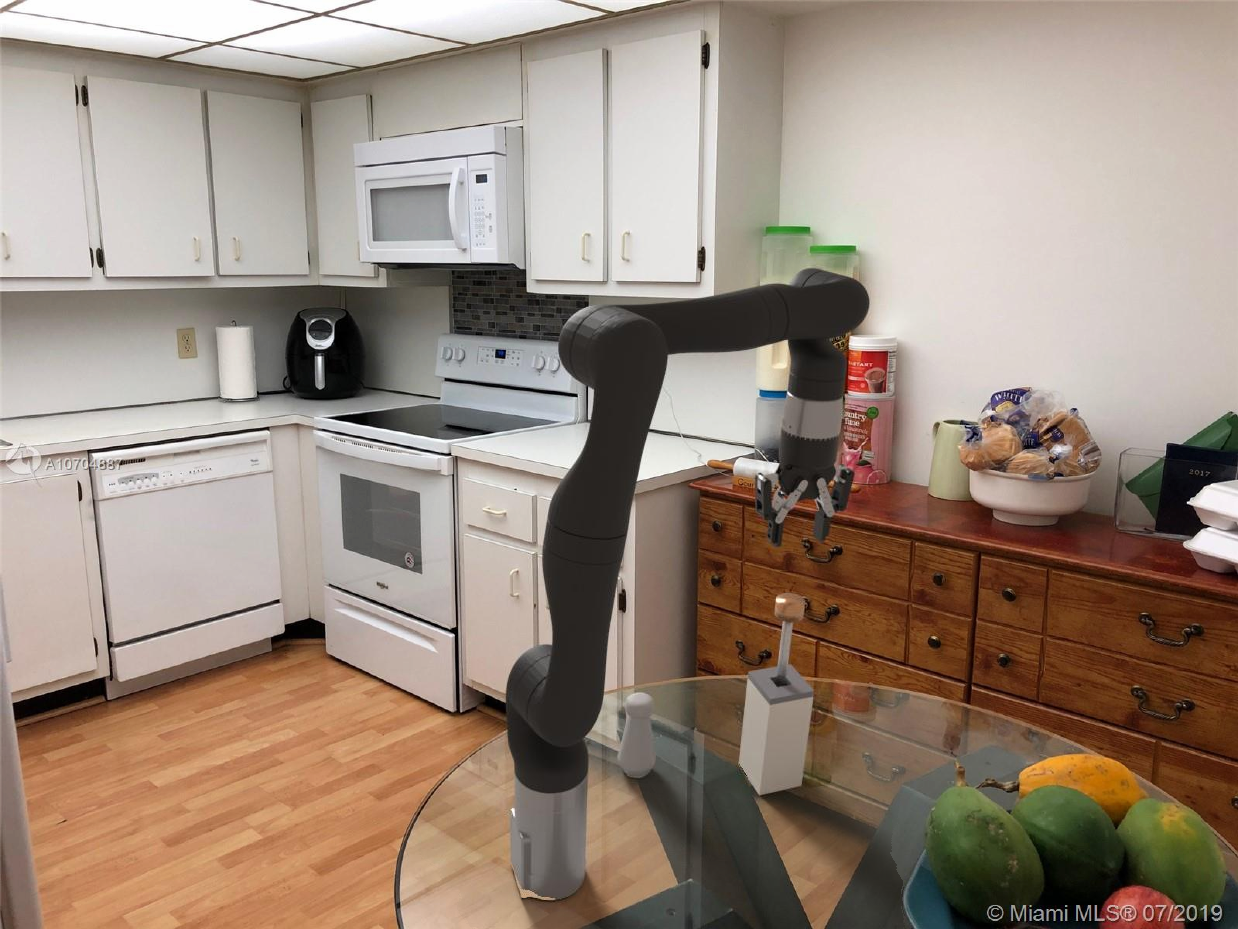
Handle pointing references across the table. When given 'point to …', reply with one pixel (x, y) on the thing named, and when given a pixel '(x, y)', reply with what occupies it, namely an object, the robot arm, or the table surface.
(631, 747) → the salt shaker
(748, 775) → the press canister
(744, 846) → the table surface
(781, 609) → the plunger
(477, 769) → the table surface
